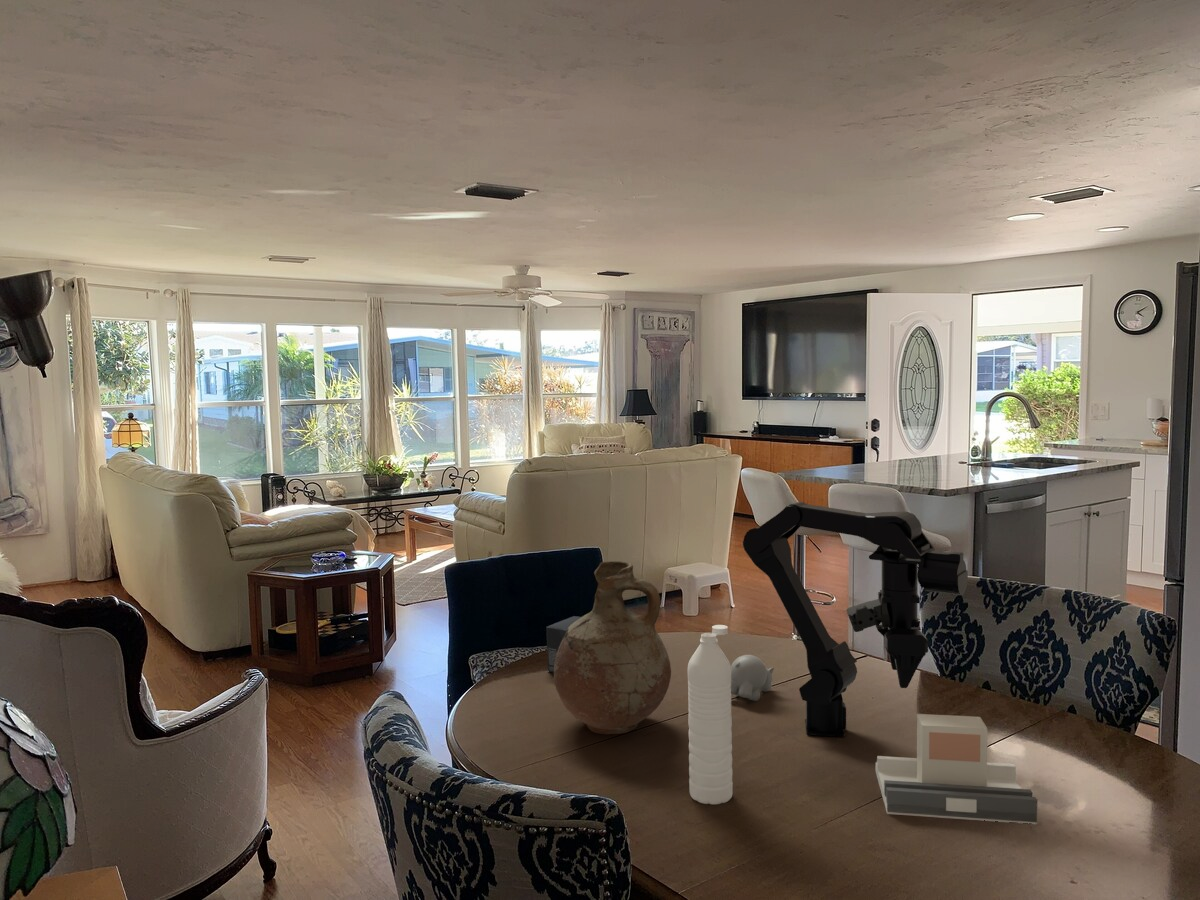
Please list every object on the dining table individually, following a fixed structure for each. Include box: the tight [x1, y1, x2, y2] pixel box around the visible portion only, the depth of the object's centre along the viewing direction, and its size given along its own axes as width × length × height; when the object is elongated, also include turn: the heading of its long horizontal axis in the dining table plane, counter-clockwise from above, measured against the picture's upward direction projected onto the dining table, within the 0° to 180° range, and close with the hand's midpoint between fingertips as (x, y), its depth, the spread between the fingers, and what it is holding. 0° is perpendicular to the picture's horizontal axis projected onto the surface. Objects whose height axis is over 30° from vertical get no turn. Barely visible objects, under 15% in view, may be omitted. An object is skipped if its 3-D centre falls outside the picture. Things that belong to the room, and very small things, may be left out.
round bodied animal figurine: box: [731, 654, 775, 702], centre depth 172 cm, size 7×12×8 cm, turn 130°
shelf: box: [875, 755, 1038, 825], centre depth 129 cm, size 20×14×4 cm
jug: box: [553, 560, 672, 735], centre depth 158 cm, size 22×22×30 cm
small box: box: [545, 615, 582, 674], centre depth 192 cm, size 11×6×10 cm, turn 145°
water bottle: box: [687, 624, 734, 805], centre depth 131 cm, size 9×6×25 cm
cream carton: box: [916, 713, 988, 787], centre depth 128 cm, size 5×9×10 cm, turn 79°
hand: (899, 678), depth 145 cm, fingers open, 9 cm apart
